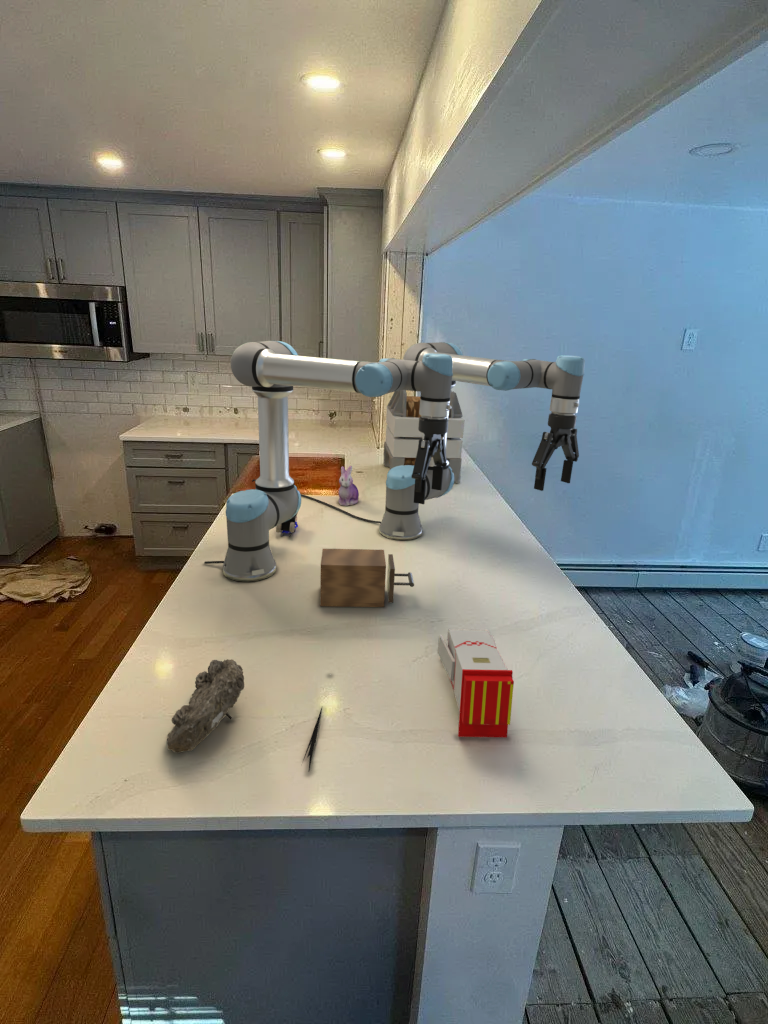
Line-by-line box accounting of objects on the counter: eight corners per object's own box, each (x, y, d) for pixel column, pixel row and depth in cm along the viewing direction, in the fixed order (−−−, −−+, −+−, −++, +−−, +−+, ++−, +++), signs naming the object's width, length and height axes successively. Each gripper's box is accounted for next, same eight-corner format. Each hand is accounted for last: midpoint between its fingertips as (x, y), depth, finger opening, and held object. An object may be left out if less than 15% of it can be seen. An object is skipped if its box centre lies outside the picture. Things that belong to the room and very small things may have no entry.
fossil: (192, 660, 117) (244, 628, 112) (224, 691, 120) (276, 661, 115) (142, 746, 98) (202, 712, 93) (182, 779, 101) (242, 748, 96)
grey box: (382, 463, 289) (386, 382, 275) (445, 464, 293) (451, 384, 279) (390, 482, 257) (394, 392, 243) (460, 483, 261) (468, 394, 247)
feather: (331, 679, 122) (336, 673, 122) (307, 777, 96) (313, 769, 95) (324, 675, 122) (329, 669, 121) (298, 772, 95) (304, 764, 95)
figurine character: (295, 542, 192) (300, 522, 205) (294, 523, 188) (300, 503, 202) (275, 542, 191) (282, 521, 205) (274, 522, 188) (281, 502, 201)
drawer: (410, 586, 160) (412, 554, 157) (413, 603, 151) (416, 569, 148) (335, 585, 159) (336, 553, 155) (334, 601, 150) (335, 567, 147)
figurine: (342, 507, 223) (343, 470, 218) (332, 499, 231) (332, 464, 226) (364, 504, 227) (365, 468, 222) (353, 497, 236) (354, 462, 230)
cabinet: (382, 588, 160) (384, 549, 156) (384, 607, 151) (386, 566, 147) (322, 587, 159) (322, 548, 155) (320, 606, 150) (320, 564, 145)
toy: (488, 613, 130) (523, 677, 101) (484, 667, 133) (517, 744, 104) (435, 612, 130) (455, 676, 101) (432, 666, 133) (451, 743, 103)
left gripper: (431, 426, 132) (425, 512, 139) (462, 411, 154) (455, 486, 161) (401, 422, 135) (397, 506, 142) (436, 408, 156) (430, 482, 164)
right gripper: (548, 419, 148) (537, 496, 155) (598, 411, 163) (586, 482, 171) (525, 414, 153) (515, 489, 160) (575, 407, 169) (564, 476, 176)
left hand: (428, 496), depth 151 cm, fingers open, 13 cm apart
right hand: (552, 485), depth 166 cm, fingers open, 13 cm apart
